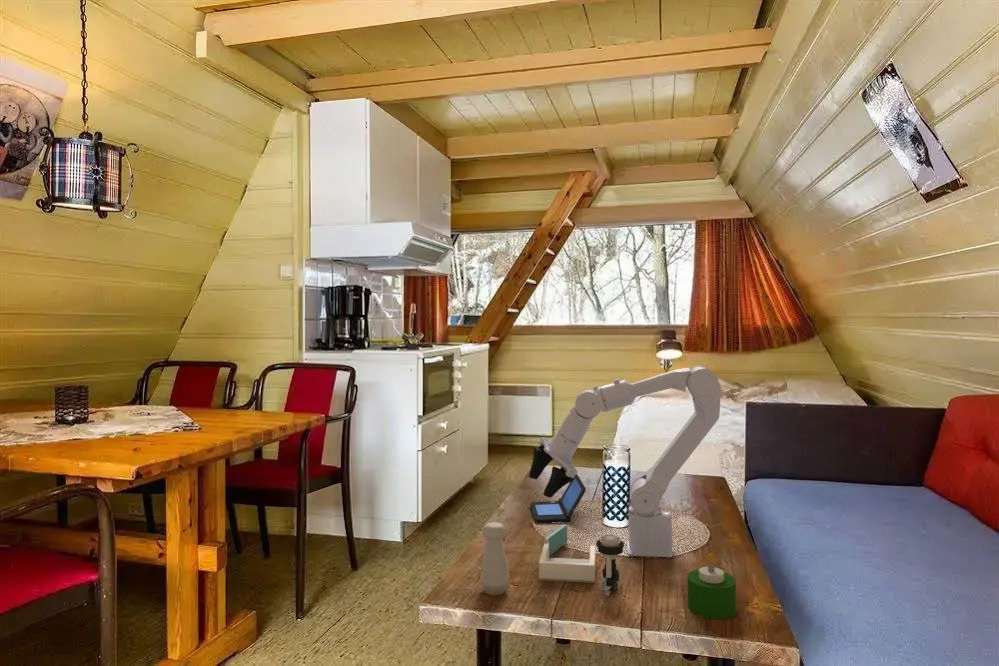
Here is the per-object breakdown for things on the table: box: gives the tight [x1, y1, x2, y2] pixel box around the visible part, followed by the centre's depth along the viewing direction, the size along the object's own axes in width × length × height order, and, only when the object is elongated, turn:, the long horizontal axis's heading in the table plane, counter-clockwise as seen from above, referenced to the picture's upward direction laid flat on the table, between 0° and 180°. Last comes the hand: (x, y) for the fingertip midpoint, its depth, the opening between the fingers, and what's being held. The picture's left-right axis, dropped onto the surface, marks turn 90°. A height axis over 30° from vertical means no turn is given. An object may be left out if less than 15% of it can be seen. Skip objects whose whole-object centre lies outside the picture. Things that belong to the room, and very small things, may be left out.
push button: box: [595, 534, 625, 596], centre depth 121 cm, size 7×5×10 cm
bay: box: [538, 543, 597, 584], centre depth 131 cm, size 11×11×4 cm
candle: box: [686, 553, 737, 620], centre depth 113 cm, size 8×8×10 cm
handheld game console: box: [529, 473, 587, 524], centre depth 169 cm, size 16×13×9 cm
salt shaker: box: [479, 522, 511, 596], centre depth 122 cm, size 6×6×13 cm
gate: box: [543, 523, 568, 557], centre depth 143 cm, size 11×1×4 cm, turn 150°
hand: (539, 486), depth 146 cm, fingers open, 7 cm apart
